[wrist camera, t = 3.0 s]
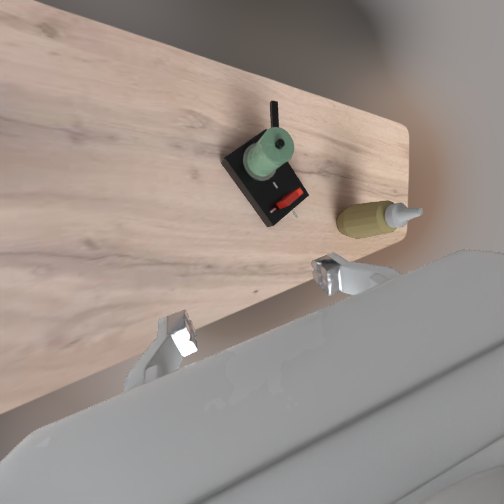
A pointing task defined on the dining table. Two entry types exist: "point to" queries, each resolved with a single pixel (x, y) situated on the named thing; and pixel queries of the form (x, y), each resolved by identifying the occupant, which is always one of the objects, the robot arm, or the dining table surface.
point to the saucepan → (271, 147)
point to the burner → (247, 169)
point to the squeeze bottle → (374, 218)
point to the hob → (264, 186)
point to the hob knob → (289, 198)
